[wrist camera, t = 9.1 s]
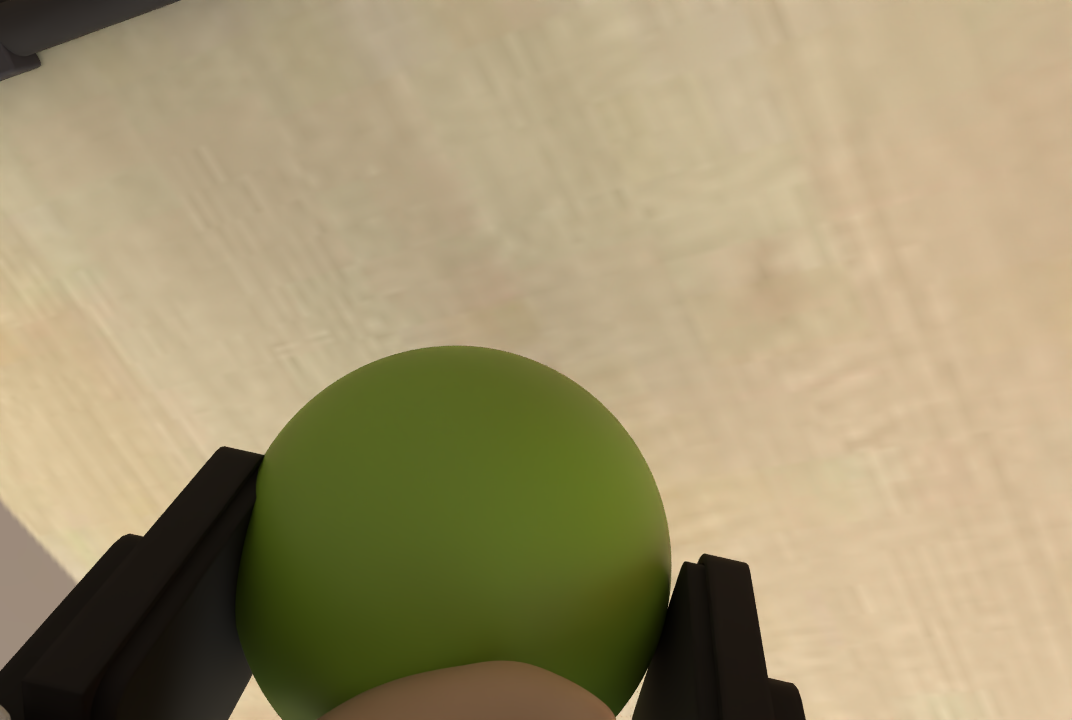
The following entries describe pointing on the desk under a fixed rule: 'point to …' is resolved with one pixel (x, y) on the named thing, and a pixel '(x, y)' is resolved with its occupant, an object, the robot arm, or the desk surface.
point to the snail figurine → (453, 548)
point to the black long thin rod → (56, 26)
